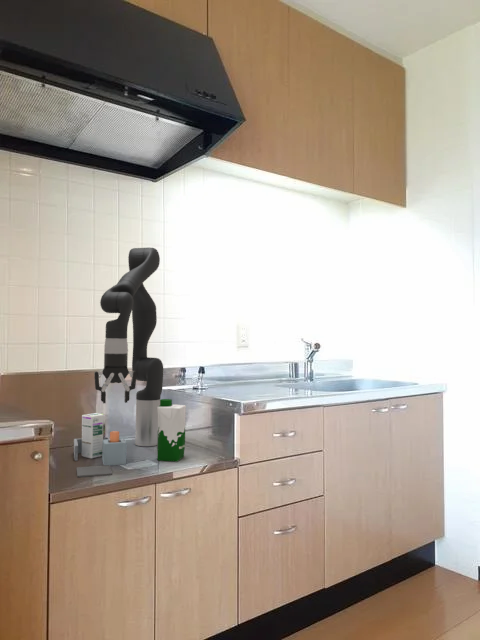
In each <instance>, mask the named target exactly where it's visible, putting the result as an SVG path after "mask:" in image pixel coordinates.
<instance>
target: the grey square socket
mask: <svg viewBox="0 0 480 640" xmlns="http://www.w3.org/2000/svg"><path fill="white" fill-rule="evenodd" d="M127 444H128V443H127V441H126V439H125V438H119V442H113V443H110V439H105V440H103V450H102V456H101V458H102V460H101V461H102V464H103V466H104V465H109V466H120V465H123V466H124V465H127V447H128V446H127Z"/></svg>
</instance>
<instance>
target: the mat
mask: <svg viewBox="0 0 480 640" xmlns="http://www.w3.org/2000/svg"><path fill="white" fill-rule="evenodd" d="M101 476H103V477H104V476H105V477H106V476H113V471H112V469H111V465H104V464H103V465H93V466H91V465H90V466H77V467H76V477H77V478H88V477H101Z"/></svg>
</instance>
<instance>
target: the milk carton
mask: <svg viewBox="0 0 480 640" xmlns="http://www.w3.org/2000/svg"><path fill="white" fill-rule="evenodd" d="M186 409H187V407H186V405H185V404H178V403H177V404H173V399H169V398H160V406H158V407H157V412H158V443H157V445H156V446H157V450H156V451H157V454H156V455H157V461H161V462H175V463H177V462H179V461H180V460H182V459H183V458H184V457H185V448H186V413H187V412H186V411H187V410H186Z"/></svg>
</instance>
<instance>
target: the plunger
mask: <svg viewBox="0 0 480 640" xmlns="http://www.w3.org/2000/svg"><path fill="white" fill-rule="evenodd" d="M109 437H110V443H113V442H119V439H120V431H118V430H113V431H110V432H109Z"/></svg>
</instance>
